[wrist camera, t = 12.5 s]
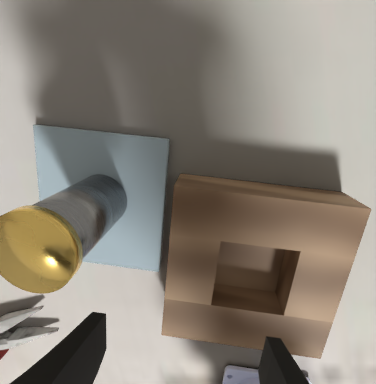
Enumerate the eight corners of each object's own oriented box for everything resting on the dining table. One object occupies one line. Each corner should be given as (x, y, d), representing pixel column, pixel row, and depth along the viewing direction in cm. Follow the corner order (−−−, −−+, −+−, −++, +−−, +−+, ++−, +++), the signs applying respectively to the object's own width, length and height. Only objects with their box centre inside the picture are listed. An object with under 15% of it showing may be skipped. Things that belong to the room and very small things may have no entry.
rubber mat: (160, 267, 22) (158, 271, 21) (48, 252, 22) (44, 256, 22) (169, 138, 18) (168, 139, 18) (38, 124, 19) (33, 124, 18)
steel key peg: (127, 172, 19) (66, 213, 11) (131, 226, 20) (80, 296, 12) (71, 171, 19) (-25, 210, 11) (79, 224, 20) (-2, 290, 13)
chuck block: (303, 321, 22) (320, 358, 19) (168, 302, 23) (161, 335, 19) (341, 192, 18) (371, 208, 15) (180, 173, 19) (173, 185, 16)
